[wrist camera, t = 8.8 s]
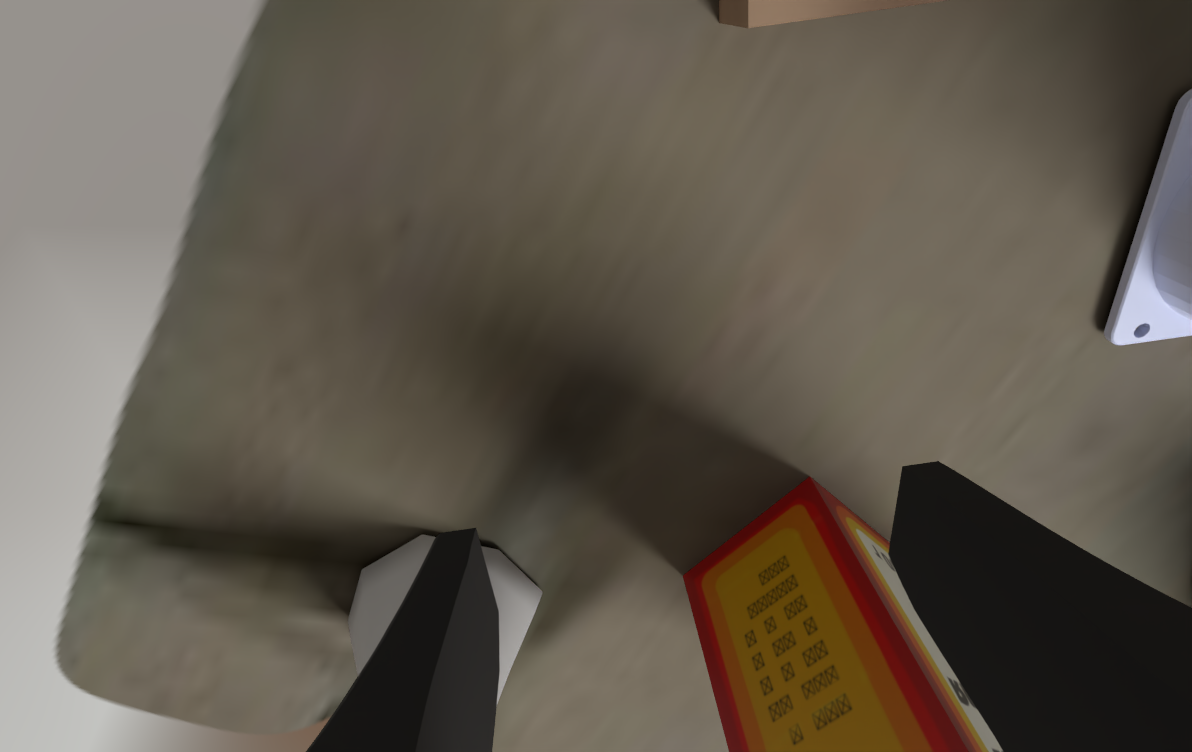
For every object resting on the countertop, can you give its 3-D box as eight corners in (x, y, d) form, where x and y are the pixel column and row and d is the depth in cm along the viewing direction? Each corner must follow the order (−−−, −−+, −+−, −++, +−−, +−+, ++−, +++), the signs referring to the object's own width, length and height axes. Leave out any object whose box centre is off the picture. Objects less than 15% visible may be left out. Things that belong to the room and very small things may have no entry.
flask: (472, 680, 29) (449, 974, 20) (316, 619, 26) (213, 928, 18) (574, 581, 26) (598, 868, 18) (414, 502, 24) (350, 796, 15)
